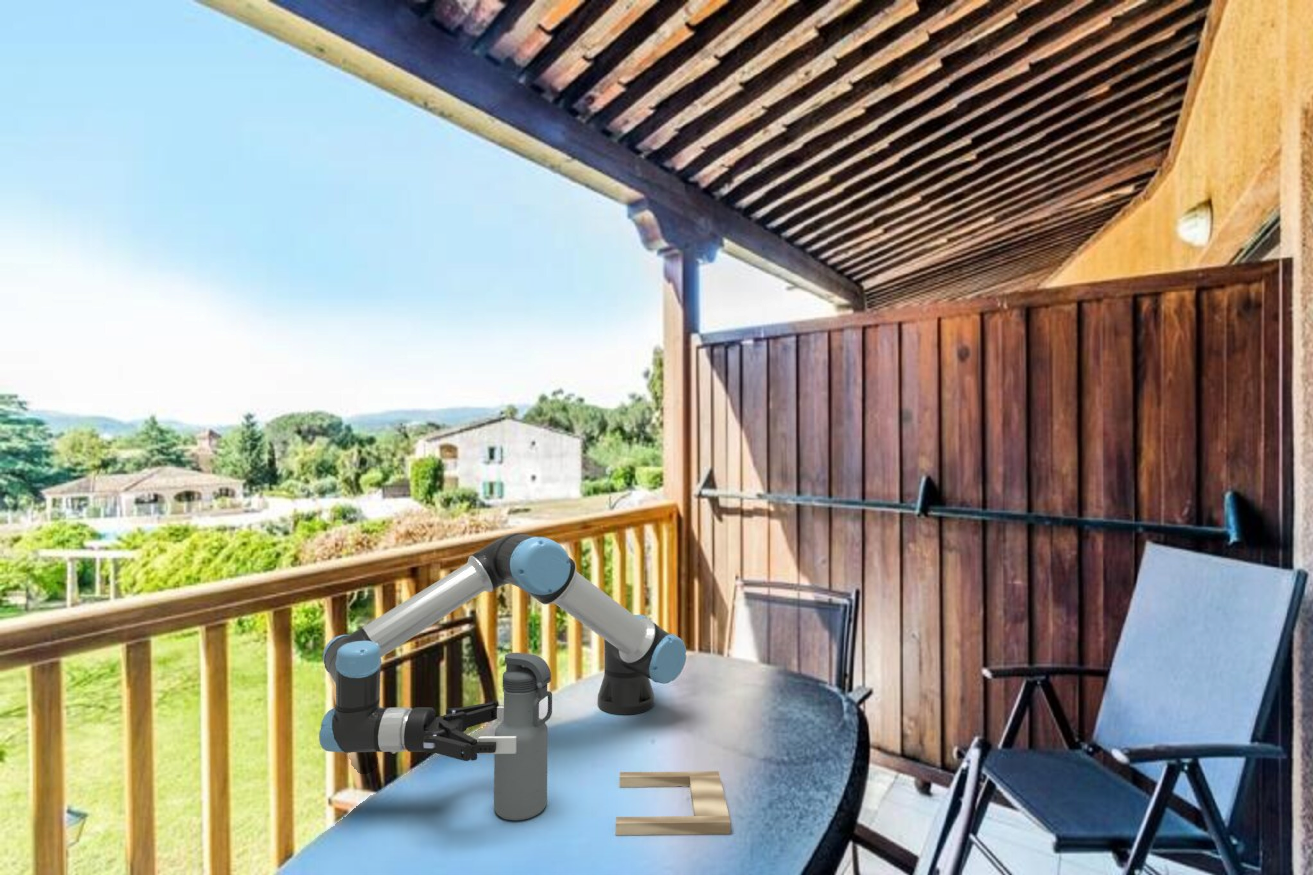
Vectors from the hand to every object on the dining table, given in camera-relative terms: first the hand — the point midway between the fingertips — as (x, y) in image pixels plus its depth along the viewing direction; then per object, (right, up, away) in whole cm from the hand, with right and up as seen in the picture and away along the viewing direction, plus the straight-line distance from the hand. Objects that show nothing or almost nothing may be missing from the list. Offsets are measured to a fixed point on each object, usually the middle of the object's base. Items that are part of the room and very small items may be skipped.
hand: (523, 728), depth 117 cm
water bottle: (0, -15, 0) cm, 15 cm away
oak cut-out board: (+28, -15, 0) cm, 31 cm away
